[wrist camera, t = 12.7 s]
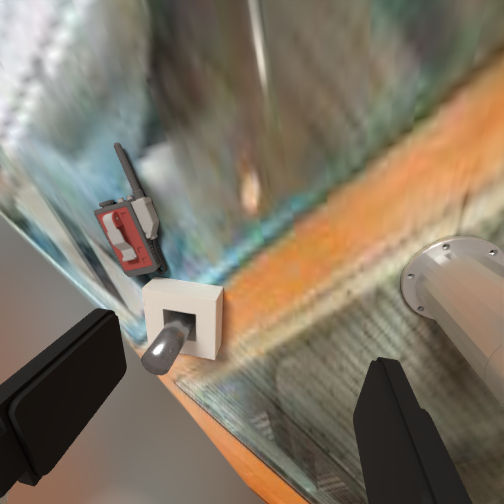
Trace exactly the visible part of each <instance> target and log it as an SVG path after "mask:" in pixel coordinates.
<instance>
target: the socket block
mask: <svg viewBox="0 0 504 504" xmlns="http://www.w3.org/2000/svg"><path fill="white" fill-rule="evenodd" d="M142 294H143V302H144V311H145V320H146V328H147V337H148V346H149V347H150V345H151V344H152V343H153V341H154V340H155V339H156V337H157V336H158V335H159V333H160V332H161V330H162V329H163V328H164V326H165V325H166V324H167V322H168V321H169V320H170V318H171V317H172V316H173V314H174V313H175V311H179V312H184V313H190V314H196V325H195V326H194V328H193V330H192V331H191V333H190V335H189V336H188V338H187V340H186V342H185V343H184V345H183V347H182V349H181V350H180V352H179V353H181V354H186V355H191V356H196V357H201V358H206V359H212V360H215V359H216V356H217V354H218V351H219V348H220V346H221V342H222V311H223V287H220V286H213V285H207V284H200V283H194V282H187V281H181V280H175V279H168V278H162V277H154V278H153V279H152V280H151V281H150V282H148V283H147V284H146V285H145V286H144V287H143V288H142Z"/></svg>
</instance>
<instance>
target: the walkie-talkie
mask: <svg viewBox="0 0 504 504" xmlns="http://www.w3.org/2000/svg"><path fill="white" fill-rule="evenodd" d="M114 148H115V151H116V153H117V155H118V157H119V160H120V162H121V164H122V167H123V169H124V171H125V174H126V176H127V178H128V180H129V183H130V185H131V187H132V190H133V194H134V196H135V198H134V197H133V196H132V195H130V196H127V201H126V200H124V198H120V199H117V200H118V203H117V204H113V203H114V200H109V201H105V202H102V203H99V206H100V207H103V208H101V209H98V210H95V211H94V214H95V216H96V218H97V220H98V222H99V224H100V226H101V228H102V230H103V232H104V234H105V236H106V238H107V240H108V241H109V244H110V246H111V247H112V250H113V251H114V253H115V256H116V257H117V259H118V262H119V263H120V265H121V268H122V269H123V271H124V273H125V274H126V275H127V276H128V277H132V276H137V275H141V274H146V273H151V272H154V271H156V270H157V271H158V273H160V274H164V273H165V272H166V271H167V266H166V264H165V262H164V259H163V257H162V254H161V251H160V250H159V248H158V245H157V239H156V237H158V235H157V230H158V225H159V219H158V217H157V214H156V212H155V209H154V207H153V205H152V200H151V198H150V197H146V198H145V196H144V194H143V191H142V190H141V189H140V187H139V185H138V182H137V180H136V178H135V175H134V173H133V171H132V168H131V166H130V163H129V162H128V160H127V158H126V156H125V153H124V151H123V149H122V146H121V144H120V143H115V144H114ZM161 266H162V267H163V270H161V269H160V267H161Z"/></svg>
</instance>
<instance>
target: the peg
mask: <svg viewBox="0 0 504 504" xmlns="http://www.w3.org/2000/svg"><path fill="white" fill-rule="evenodd" d="M195 324H196V314H190V313H184V312H179V311H176V312H175V313H174V314H173V316H172V317H171V318H170V320H169V321H168V322H167V324H166V325H165V326H164V328H163V329H162V330H161V332H160V333H159V335H158V336H157V337H156V339H155V340H154V341H153V343H152V344H151V345H150V347H149V348H148V349H147V351H146V352H145V353H144V355H143V356H142V358H141V362H142V365H143V366H144V368H145V369H146V370H147V371H149V372H150V373H152V374H155V375H164V374H166V373H167V372H168V371H169V369H170V368H171V366H172V364H173V362H174V361H175V359H176V357H177V355H178V354H179V352H180V350H181V349H182V347H183V345H184V343H185V342H186V340H187V338H188V336H189V335H190V333H191V331H192V330H193V328H194V326H195Z"/></svg>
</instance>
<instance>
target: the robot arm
mask: <svg viewBox="0 0 504 504" xmlns="http://www.w3.org/2000/svg"><path fill="white" fill-rule="evenodd" d="M400 283H401V291H402V294H403V297H404V298H405V300H406V302H407V303H408V304H409V306H410V307H411V308H412V309H413V310H414V311H415V312H417V313H418V314H420V315H422V316H424V317H427V318H430V319H433V320H436V322H437V323H438V324H439V325H440V327H441V328H442V329H443V331H444V332H445V333H446V334H447V336H448V337H449V338H450V340H451V341H452V342H453V343H454V345H455V346H456V347H457V349H458V350H459V351H460V353H461V354H462V355H463V356H464V358H465V359H466V360H467V362H468V363H469V364H470V365H471V367H472V368H473V369H474V371H475V372H476V373H477V374H478V376H479V377H480V378H481V380H482V381H483V382H484V384H485V385H486V386H487V387H488V389H489V390H490V391H491V393H492V394H493V395H494V396H495V398H496V399H497V400H498V401H499V403H500V404H501V405H502V406H503V407H504V252H503V251H502V250H501V249H500V248H498V247H497V246H496V245H494V244H492V243H490V242H488V241H486V240H484V239H481V238H477V237H472V236H453V237H448V238H443V239H440V240H438V241H435V242H433V243H431V244H429V245H427V246H425V247H424V248H422V249H421V250H420V251H418V252H417V253H416V254H415V255H414V256H413V257H412V258H411V259H410V260H409V262H408V263H407V265H406V266H405V268H404V270H403V273H402V276H401V282H400ZM126 368H127V366H126V359H125V354H124V348H123V342H122V337H121V331H120V325H119V319H118V316H117V315H115V312H114V311H112V310H106V309H101V308H97V309H95V310H93V311H92V312H91V313H90V314H88V315H87V316H86V317H85V318H83V319H82V320H81V321H80V322H78V323H77V324H76V325H75V326H73V327H72V328H71V329H70V330H68V331H67V332H66V333H65V334H64V335H62V336H61V337H60V338H59V339H57V340H56V341H55V342H53V343H52V344H51V345H50V346H48V347H47V348H46V349H45V350H43V351H42V352H41V353H40V354H38V355H37V356H36V357H35V358H33V359H32V360H31V361H30V362H29V363H27V364H26V365H25V366H24V367H22V368H21V369H20V370H19V371H17V372H16V373H15V374H13V375H12V376H11V377H10V378H9V379H7V380H6V381H5V382H3V383H2V384H1V385H0V504H6V503H7V498H8V494H9V490H10V489H11V487H12V486H13V485H14V484H15V482H16V481H17V480H18V481H19V482H20V483H24V484H27V485H31V486H35V485H36V484H37V483H38V482H39V480H40V479H41V478H42V476H43V475H46V474H48V473H49V472H50V471H51V470H52V469H53V468H54V467H55V465H56V464H57V462H58V461H59V460H60V459H61V457H62V456H63V455H64V454H65V452H66V451H67V449H68V448H69V447H70V446H71V444H72V443H73V442H74V440H75V439H76V438H77V436H78V435H79V434H80V432H81V431H82V430H83V429H84V427H85V426H86V425H87V423H88V422H89V421H90V419H91V418H92V417H93V416H94V414H95V413H96V412H97V410H98V409H99V407H100V406H101V405H102V404H103V402H104V401H105V400H106V398H107V397H108V395H110V393H111V392H112V391H113V389H114V388H115V387H116V385H117V384H118V383H119V381H120V380H121V379H122V377H123V376H124V374H125V372H126ZM353 423H354V429H355V434H356V440H357V445H358V450H359V455H360V461H361V466H362V471H363V476H364V482H365V487H366V492H367V497H368V502H369V504H472V502H471V499H470V497H469V495H468V493H467V491H466V489H465V487H464V485H463V483H462V481H461V479H460V477H459V474H458V472H457V470H456V468H455V466H454V464H453V462H452V460H451V458H450V456H449V454H448V452H447V450H446V447H445V445H444V443H443V441H442V439H441V437H440V435H439V433H438V431H437V429H436V427H435V425H434V422H433V420H432V418H431V417H430V415H429V413H428V412H427V411H426V410H425V409H422V408H420V406H419V404H418V401H417V399H416V397H415V395H414V393H413V390H412V388H411V386H410V384H409V382H408V380H407V377H406V375H405V373H404V371H403V369H402V366H401V364H400V363H399V361H398V360H394V359H388V358H382V357H378V358H377V360H376V361H371V363H370V366H369V369H368V372H367V375H366V378H365V381H364V384H363V387H362V390H361V393H360V396H359V399H358V402H357V405H356V408H355V411H354V415H353Z"/></svg>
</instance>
